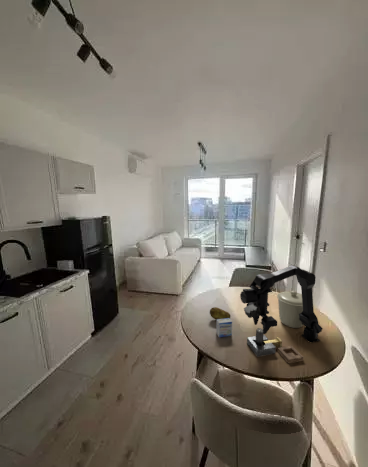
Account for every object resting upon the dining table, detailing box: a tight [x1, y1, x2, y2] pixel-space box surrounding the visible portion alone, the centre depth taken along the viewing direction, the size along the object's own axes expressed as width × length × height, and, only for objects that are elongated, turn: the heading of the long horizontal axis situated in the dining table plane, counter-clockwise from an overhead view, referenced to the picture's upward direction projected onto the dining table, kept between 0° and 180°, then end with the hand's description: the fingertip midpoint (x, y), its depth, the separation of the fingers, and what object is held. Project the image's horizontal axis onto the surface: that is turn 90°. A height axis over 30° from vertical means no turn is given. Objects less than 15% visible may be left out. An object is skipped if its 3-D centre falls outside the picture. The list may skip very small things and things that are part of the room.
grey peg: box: [255, 327, 264, 346], centre depth 108 cm, size 4×4×11 cm
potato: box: [209, 306, 232, 321], centre depth 135 cm, size 8×13×8 cm, turn 71°
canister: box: [276, 290, 304, 329], centre depth 129 cm, size 18×18×21 cm
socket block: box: [246, 334, 277, 358], centre depth 109 cm, size 10×10×4 cm
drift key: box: [263, 336, 283, 348], centre depth 110 cm, size 9×3×4 cm, turn 102°
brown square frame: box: [277, 345, 304, 364], centre depth 104 cm, size 8×8×2 cm
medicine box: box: [215, 317, 233, 338], centre depth 120 cm, size 8×4×9 cm, turn 101°
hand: (259, 329), depth 107 cm, fingers open, 8 cm apart
